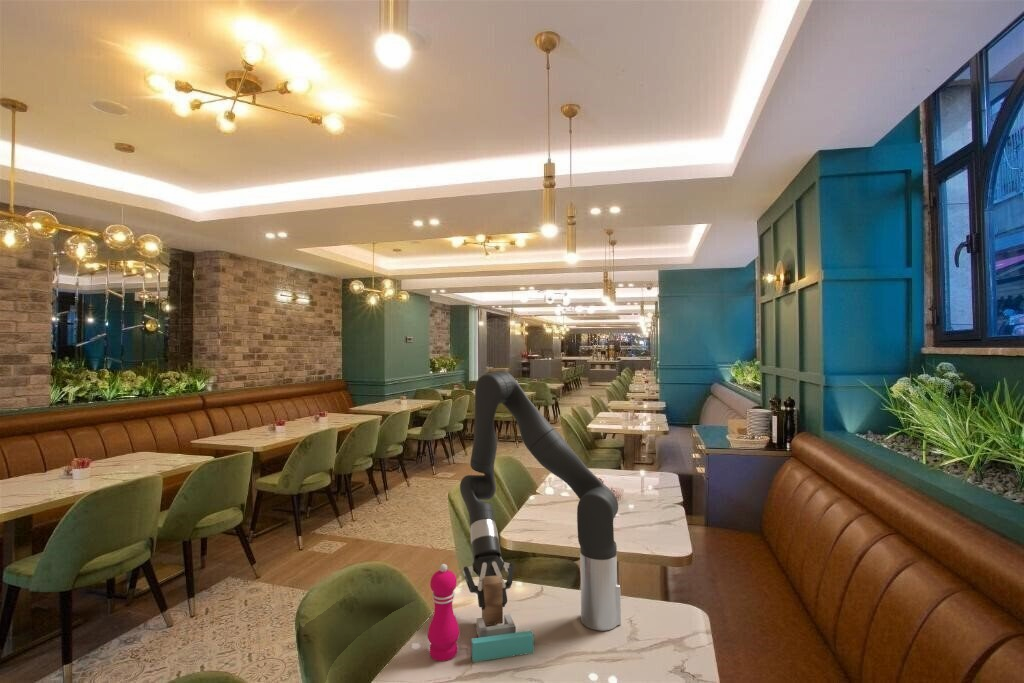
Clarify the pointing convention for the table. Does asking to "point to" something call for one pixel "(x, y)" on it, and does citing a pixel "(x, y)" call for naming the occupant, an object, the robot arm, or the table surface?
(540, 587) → the table surface
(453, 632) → the pepper mill
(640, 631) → the table surface
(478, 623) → the frame
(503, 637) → the wall
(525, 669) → the table surface
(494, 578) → the peg
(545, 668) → the table surface
